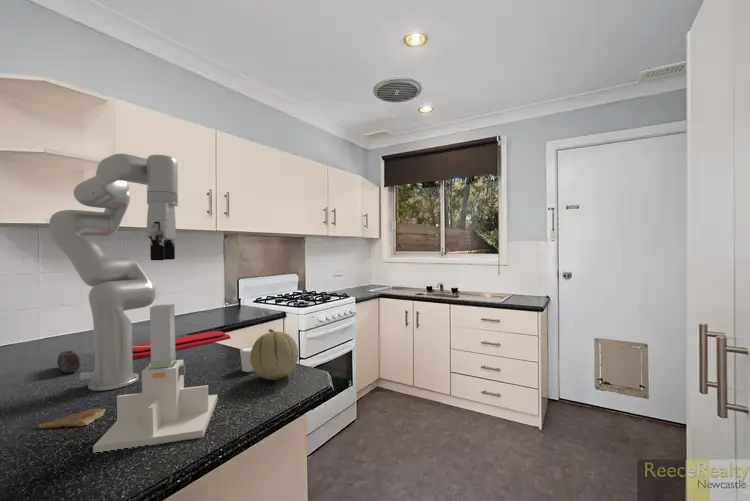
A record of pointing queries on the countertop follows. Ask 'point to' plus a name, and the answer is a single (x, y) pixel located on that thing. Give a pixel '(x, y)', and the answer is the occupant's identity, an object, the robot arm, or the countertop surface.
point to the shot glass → (246, 359)
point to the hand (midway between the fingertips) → (163, 259)
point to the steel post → (162, 336)
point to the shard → (74, 419)
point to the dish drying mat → (181, 343)
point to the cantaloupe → (274, 355)
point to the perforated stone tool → (68, 361)
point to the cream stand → (159, 411)
